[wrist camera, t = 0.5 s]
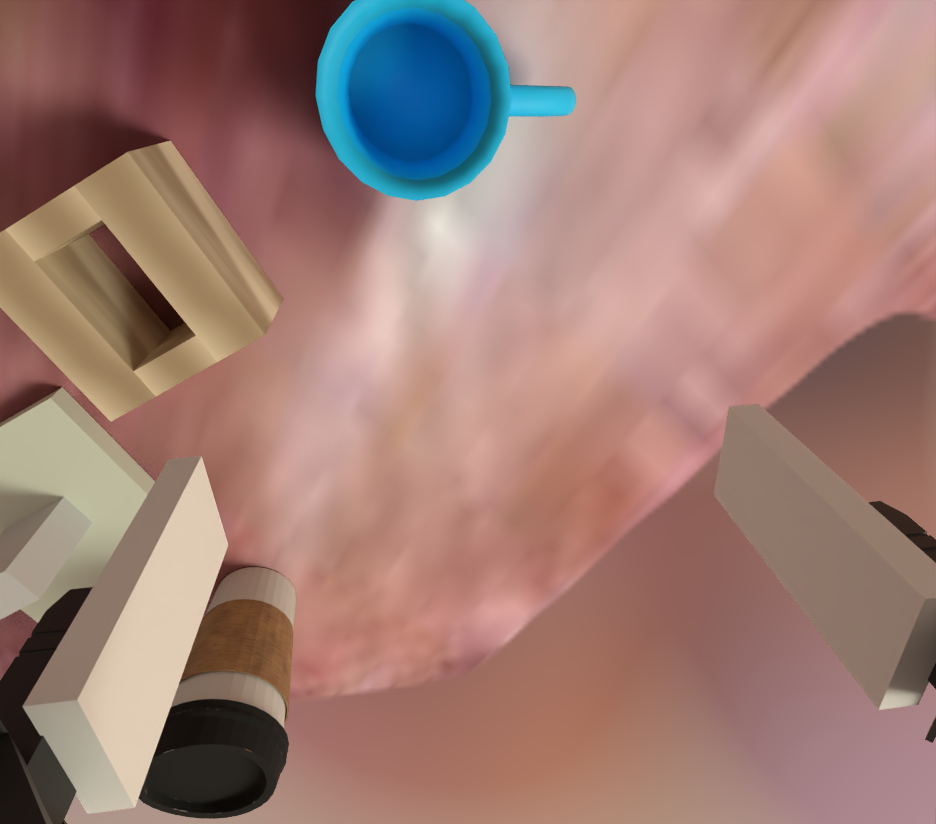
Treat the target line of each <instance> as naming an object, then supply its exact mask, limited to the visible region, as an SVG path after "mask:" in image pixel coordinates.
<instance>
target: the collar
mask: <svg viewBox="0 0 936 824" xmlns="http://www.w3.org/2000/svg"><path fill="white" fill-rule="evenodd" d="M103 225H106V226H107V227H108V228H109V229H110V231H111V232H112V233H113V234H114V236H115V237H116V238H117V239H118V240H119V242H120V243H121V244H122V245H123V247H124V248H125V249H126V250H127V252H128V253H129V254H130V255H131V256H132V258H133V259H134V260H135V261H136V263H137V264H138V265H139V266H140V267H141V269H142V270H143V271H144V272H145V274H146V275H147V276H148V277H149V279H150V280H151V281H152V282H153V283H154V285H155V286H156V287H157V288H158V290H159V291H160V292H161V293H162V294H163V296H164V297H165V298H166V299H167V301H168V302H169V303H170V304H171V305H172V307H173V308H174V309H175V310H176V312H177V313H178V314H179V315H180V317H181V318H182V319H183V320H184V321H185V322H184V323H182V324H181V325H179V326H177V327H175V328H174V329H172V330H169V329H168V328H167V327H166V325H165V324H164V323H163V322H162V321H161V319H160V318H159V317H158V316H157V315H156V313H155V312H154V311H153V310H152V309H151V307H150V306H149V305H148V304H147V303H146V302H145V300H144V299H143V298H142V297H141V296H140V294H139V293H138V292H137V291H136V290H135V288H134V287H133V286H132V285H131V284H130V282H129V281H128V280H127V279H126V278H125V276H124V275H123V274H122V273H121V272H120V270H119V269H118V268H117V267H116V266H115V264H114V263H113V262H112V261H111V260H110V258H109V257H108V256H107V255H106V254H105V252H104V251H103V250H102V249H101V248H100V246H99V245H98V244H97V243H96V242H95V240H94V239H93V238H92V237H91V236H90V233H92V232H93V231H95V230H96V229H98V228H100V227H101V226H103ZM282 301H283V298H282V297H281V295H280V294H279V293H278V291H277V290H276V288H275V287H274V285H273V284H272V283H271V281H270V280H269V278H268V277H267V276H266V274H265V273H264V271H263V270H262V269H261V267H260V266H259V264H258V263H257V262H256V260H255V259H254V257H253V256H252V255H251V253H250V252H249V250H248V249H247V248H246V246H245V245H244V243H243V242H242V241H241V239H240V238H239V236H238V235H237V233H236V232H235V231H234V229H233V228H232V226H231V225H230V224H229V222H228V221H227V219H226V218H225V217H224V215H223V214H222V212H221V211H220V210H219V208H218V207H217V205H216V204H215V203H214V201H213V200H212V198H211V197H210V196H209V194H208V193H207V191H206V190H205V188H204V187H203V186H202V184H201V183H200V181H199V180H198V179H197V177H196V176H195V174H194V173H193V172H192V170H191V169H190V167H189V166H188V165H187V163H186V162H185V160H184V159H183V158H182V156H181V155H180V153H179V152H178V151H177V149H176V148H175V146H174V145H173V144H172V142H171V141H167V142H163V143H159V144H155V145H152V146H148V147H144V148H140V149H137V150H133V151H129V152H127V153H125V154H123V155H122V156H120V157H119V158H117V159H115V160H114V161H112V162H111V163H109V164H108V165H106V166H104V167H103V168H101V169H100V170H98V171H97V172H95V173H93V174H92V175H90V176H89V177H87V178H86V179H84V180H82V181H81V182H79V183H78V184H76V185H74V186H73V187H71V188H70V189H68V190H67V191H65V192H63V193H62V194H60V195H59V196H57V197H56V198H54V199H52V200H51V201H49V202H48V203H46V204H45V205H43V206H41V207H40V208H38V209H37V210H35V211H33V212H32V213H30V214H29V215H27V216H26V217H24V218H22V219H21V220H19V221H18V222H16V223H15V224H13V225H11V226H10V227H8V228H7V229H5V230H4V231H2V232H0V308H1V309H2V310H3V311H4V312H5V313H6V314H7V315H8V316H9V317H10V318H11V319H12V320H13V321H14V322H15V323H16V324H17V325H18V326H19V327H20V328H21V329H22V330H23V331H24V332H25V334H26V335H27V336H28V337H29V338H30V339H31V340H32V341H33V342H34V343H35V344H36V345H37V346H38V347H39V348H40V349H41V350H42V351H43V352H44V353H45V354H46V355H47V356H48V357H49V358H50V359H51V360H52V361H53V362H54V363H55V364H56V365H57V367H58V368H59V369H60V370H61V371H62V372H63V373H64V374H65V375H66V376H67V377H68V378H69V379H70V380H71V381H72V382H73V383H74V384H75V385H76V386H77V387H78V388H79V389H80V390H81V391H82V392H83V393H84V394H85V395H86V396H87V397H88V399H89V400H90V401H91V402H92V403H93V404H94V405H95V406H96V407H97V408H98V409H99V410H100V411H101V412H102V413H103V414H104V415H105V416H106V417H107V418H108V419H109V420H110V421H113V420H115V419H117V418H118V417H120V416H122V415H124V414H125V413H127V412H129V411H131V410H133V409H134V408H136V407H138V406H140V405H141V404H143V403H145V402H147V401H149V400H150V399H152V398H154V397H156V396H157V395H159V394H161V393H163V392H165V391H166V390H168V389H170V388H172V387H173V386H175V385H177V384H179V383H181V382H182V381H184V380H186V379H188V378H190V377H191V376H193V375H195V374H197V373H198V372H200V371H202V370H204V369H206V368H207V367H209V366H211V365H213V364H214V363H216V362H218V361H220V360H222V359H223V358H225V357H227V356H229V355H230V354H232V353H234V352H236V351H238V350H239V349H241V348H243V347H245V346H246V345H248V344H250V343H252V342H254V341H255V340H257V339H259V338H261V337H263V336H264V335H265V334H266V332H267V330H268V328H269V326H270V324H271V322H272V320H273V319H274V317H275V315H276V313H277V311H278V309H279V307H280V305H281V303H282Z"/></svg>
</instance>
